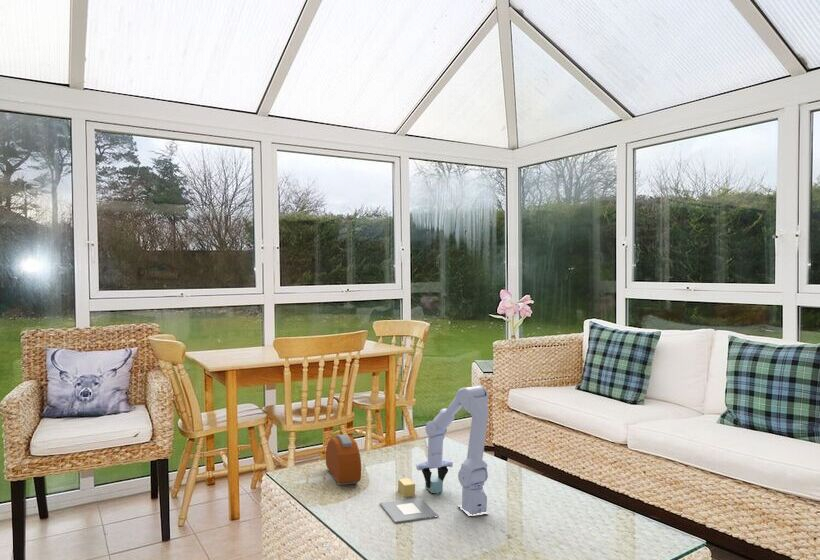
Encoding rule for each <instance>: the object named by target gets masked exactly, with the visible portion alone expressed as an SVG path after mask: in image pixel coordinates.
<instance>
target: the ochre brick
mask: <svg viewBox="0 0 820 560" xmlns="http://www.w3.org/2000/svg"><path fill="white" fill-rule="evenodd" d="M397 483H398V484H397V485H398V486H397V491H398V493H400V495H401V496H402V497H403V498H407V497H413V496H414V495H415V496H416V483H415V482H414V481H413V480H411V478H410V477H407V478H399V479H398V482H397ZM415 496H414V497H415Z"/></svg>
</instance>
